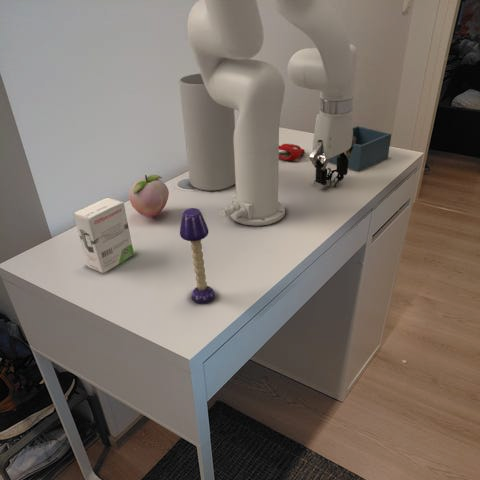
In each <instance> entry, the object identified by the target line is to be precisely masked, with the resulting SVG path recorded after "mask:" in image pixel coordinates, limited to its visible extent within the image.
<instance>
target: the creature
mask: <svg viewBox="0 0 480 480" xmlns="http://www.w3.org/2000/svg"><path fill="white" fill-rule="evenodd" d="M341 163H342V162H341ZM341 163H340V168H341V171H339V170H336V169H331V168H330V167H326V169H327V170H328V172H327V183H328V182H329V186H328V185H326V186H325V187H324V191H327V190H328V189H329V188H331V187H333V188H336V187H337V184H338V183H339V182H341V181H342V180H343V179H344V178H345V175H344V172H345V171H342V167H341ZM337 172H338V173H337ZM334 173H337V174H336V176H335V177H334V178H333V174H334ZM332 179H333V180H332ZM336 179H337V180H336ZM335 180H336V182H335ZM313 182H314V183H316V181H315V180H313ZM332 183H335V184H334V185H332Z"/></svg>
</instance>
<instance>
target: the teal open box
mask: <svg viewBox="0 0 480 480" xmlns="http://www.w3.org/2000/svg"><path fill="white" fill-rule="evenodd" d="M353 136H354V137H355V138H356V141H355V144H354V146H353V149H352V151H351V153H350V155H351V156H350V158H349V159H348V160H349V161H348V170H353V171H356V172H360V171H362V170H365V169H367V168H369V167H371V166H372V167H373V166H374V165H377V164H379V163H381V162H383V161H385V160H387V159H388V158H389V154H390V153H389V152H390V146H391V140H392V133H389V132H385V131H381V130H377V129H373V128H369V127H365V126H360V125H356V126H353ZM337 157H340V156H339V155H337V156H334V157H332V158H329V161H328V163H330V164H333V165H336V166H337Z"/></svg>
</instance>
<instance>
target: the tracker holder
mask: <svg viewBox="0 0 480 480" xmlns="http://www.w3.org/2000/svg"><path fill="white" fill-rule="evenodd" d="M279 151H286V152H289V153H290V155H289V156H288V157H286V156H283V155H279V159H280V160H284V161H290V162H293V161H294V162H295V161H296V160H297V159H299V157H300V156H301V155H302V154H305V149H304V148H301V146H299V145H298V144H294V143H282V144H281V145H279Z"/></svg>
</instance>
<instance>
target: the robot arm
mask: <svg viewBox="0 0 480 480" xmlns="http://www.w3.org/2000/svg"><path fill="white" fill-rule="evenodd" d="M272 1H273V4H274V8H275V9H276V12H277V13H278V14H279V15H280V16H281V17H282V18H284V19H285V20H286V21H287V22H288V23H289V24H291V25H292V26H294V27H295V28H296V29H298V30H300V31H301V32H303V33H304V34H305V35H306V36H307V37H308V38H309V39H310V40H311V41H312V43H313V44H314V46H315V47H309V48H302V49H300V50H297V51H296V52H295V53H294V54H293V55H292V56H291V57H290V59H289V61H288V63H287V75H288V78H289V80H290V81H291V83H293V84H294V85H295V86H298V87H300V88H304V89H308V90H313V91H320V92H319V112H318V113H317V115H316V118H315V125H314V131H313V140H312V151H311V153H310V154H309V157H308V158H309V161H311V164H312V166H313V167H314V168H315V179H314V181H316V182H315V184H319V185H322V186H327V184H328V182H327V181H328V180H327V175H328V174H327V173H328V168H327V167H328V163H329V162H328V161H329V158H332V157H334V156H337V155H339V156H340V157H337V165H336V169H335V170H339V171H341V168H340V163H341V162H342V163H341V167H342V171H345V172H344V176H347V175H348V172H349V168H348V161H349V160H348V159H349V158H350V156H351V155H350V153H351V151H352V149H353V146H354V144H355V141H356V138H355V137H354V136H353V127H354V112H353V111H354V110H353V107H354V94H355V83H356V70H357V59H358V50H357V47H356V46H355V45H354V44H352V43H350V39H349V35H348V32H347V30H346V27H345V25H344V24H343V22H342V20H341V18H340V17H339V16H338V14H337V13H336V11H335V10H334V9H333V7H332V6H331V4H330V3H329V2H328V0H272ZM186 28H187V29H186V30H187V37H188V42H189V45H190V48H191V51H192V54H193V57H194V60H195V63H196V65H197V68H198V70H199V73H201V76H202V79H203V81H204V84H205V87H206V89H207V91H208V93H209V95H210V96H211V98H212V99H213V100H214V101H215V102H217V103H218V104H220V105H223V106H226V107H229V108H232V109H234V110H236V111H238V112H239V115H238V118H237V121H236V122H235V129H234V137H233V141H234V160H235V182H236V183H235V197H233V198H232V203H231V204H230V205H229V206H227V207H223V208H222V209H220V210H219V213H220V216H221V217H222V218H224V219H225V218H227V217H229V216H230V218H231V219H232V220H233V221H235V222H236V223H238V224H242V225H245V226H254V227H255V226H256V227H257V226H266V225H271V224H275V223H277V222H279V221H280V220H281V219H283V218H284V217H285V214H286V208H285V206H284V205H283V204H282V202H280V201H279V169H280V167H279V165H280V163H279V161H280V160H279V159H280V158H279V156H280V150H279V146H280V124H281V123H280V121H281V114H282V108H283V103H284V99H285V92H286V91H285V89H286V87H285V85H286V84H285V79H284V76H283V75H282V73H281V72H280V70H279V69H278V68H277V67H276V66H274V65H273V64H271V63H269V62H266V61H263V60H258V59H253V58H254V57H255V56H257V55H258V54H259V53H260V51H261V50H262V47H263V44H264V36H265V35H264V27H263V22H262V18H261V14H260V10H259V6H258V2H257V0H197V1H196V2H195V4H194V5H193V6H192V7H191V9H190V11H189V14H188V18H187V26H186ZM322 159H323V161H322ZM326 168H327V169H326ZM336 173H337V174H338V172H336Z"/></svg>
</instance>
